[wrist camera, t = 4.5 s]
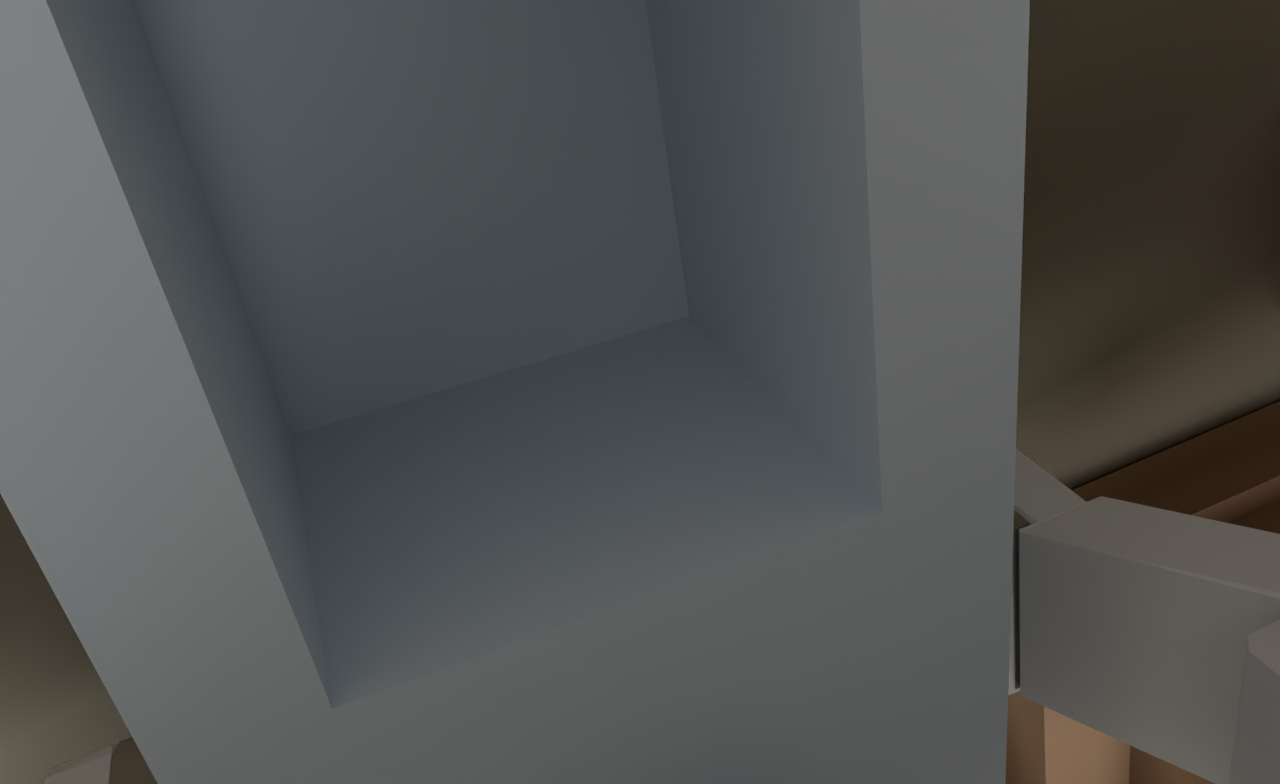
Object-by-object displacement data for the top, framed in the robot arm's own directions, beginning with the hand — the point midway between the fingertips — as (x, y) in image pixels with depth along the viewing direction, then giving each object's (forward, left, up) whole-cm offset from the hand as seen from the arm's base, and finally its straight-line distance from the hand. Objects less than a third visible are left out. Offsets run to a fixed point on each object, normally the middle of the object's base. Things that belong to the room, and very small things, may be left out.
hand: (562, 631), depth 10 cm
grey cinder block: (-3, 0, -2) cm, 3 cm away
